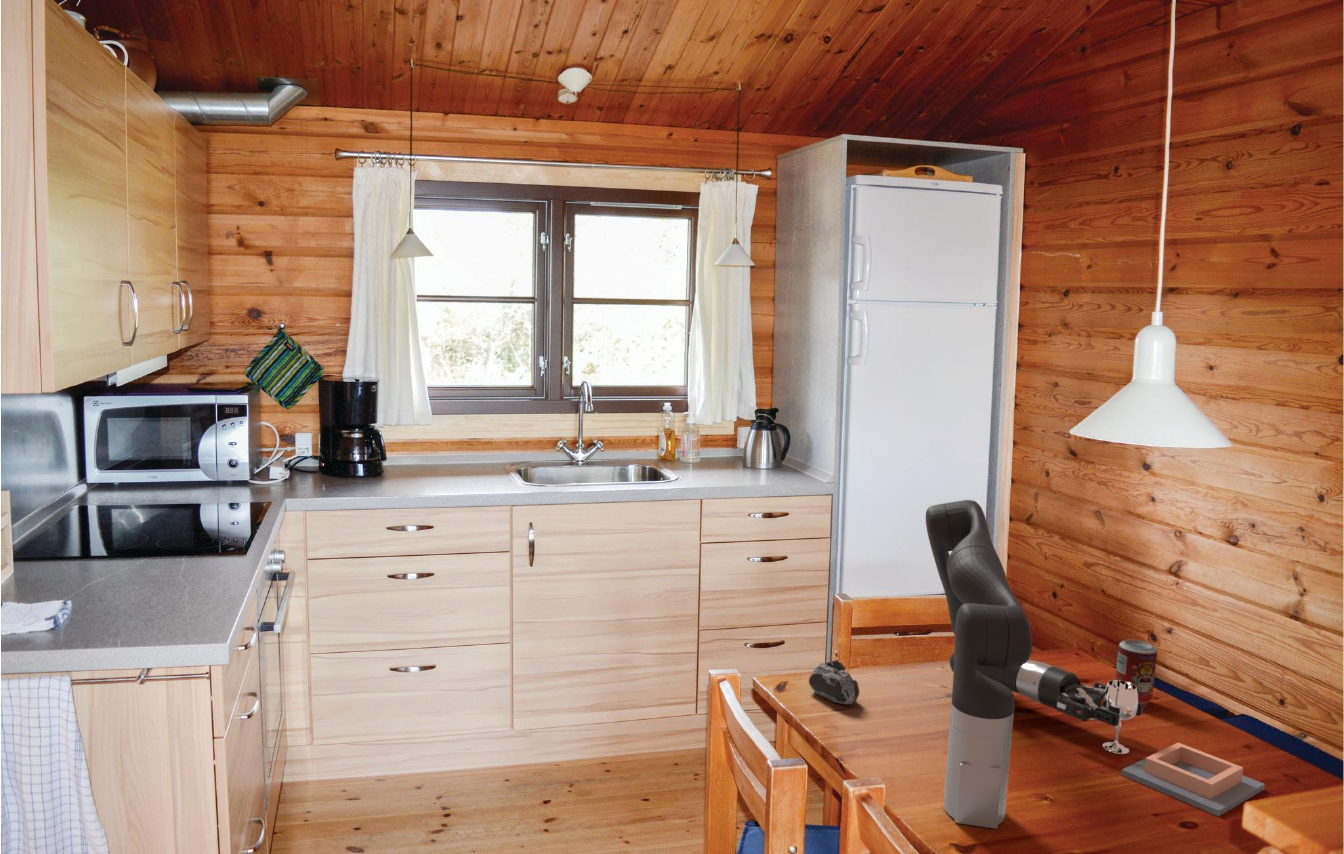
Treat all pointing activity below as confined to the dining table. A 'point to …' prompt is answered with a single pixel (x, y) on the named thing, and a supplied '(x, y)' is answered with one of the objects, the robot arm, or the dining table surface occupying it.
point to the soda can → (1137, 667)
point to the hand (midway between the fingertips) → (1130, 715)
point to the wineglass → (1120, 708)
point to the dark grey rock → (834, 683)
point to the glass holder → (1195, 778)
